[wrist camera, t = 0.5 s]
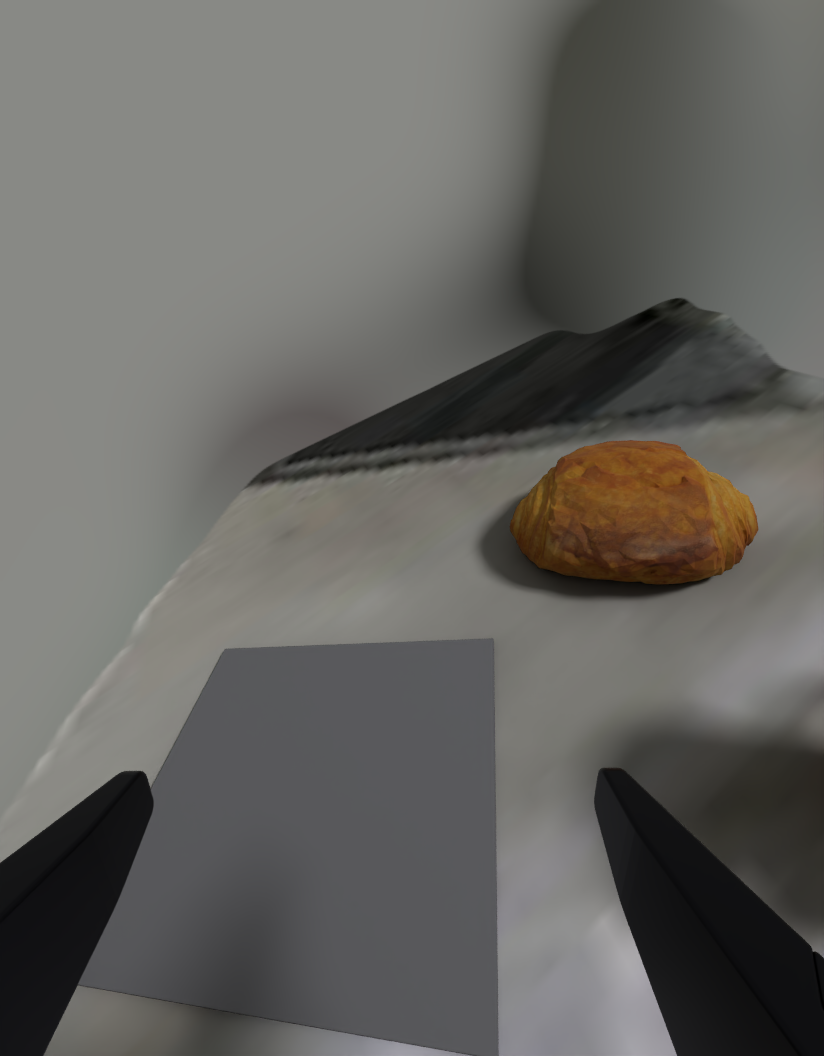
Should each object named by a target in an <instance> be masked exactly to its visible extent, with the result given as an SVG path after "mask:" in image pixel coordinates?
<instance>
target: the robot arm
mask: <svg viewBox="0 0 824 1056" xmlns="http://www.w3.org/2000/svg"><path fill="white" fill-rule="evenodd" d="M594 804H595V810H596V815H597V818H598V822H599V826H600V829H601V833H602V837H603V840H604V844H605V848H606V852H607V855H608V859H609V863H610V866H611V870H612V874H613V877H614V881H615V885H616V888H617V892H618V895H619V899H620V902H621V905H622V908H623V911H624V914H625V916H626V919H627V922H628V925H629V927H630V930H631V933H632V935H633V938H634V941H635V943H636V946H637V949H638V951H639V954H640V957H641V960H642V962H643V965H644V968H645V970H646V973H647V976H648V978H649V981H650V984H651V986H652V989H653V992H654V995H655V997H656V1000H657V1003H658V1005H659V1008H660V1011H661V1013H662V1016H663V1019H664V1021H665V1024H666V1027H667V1030H668V1032H669V1035H670V1038H671V1040H672V1043H673V1046H674V1048H675V1051H676V1054H677V1056H824V958H823V957H822V956H821V955H820V954H819V953H817V952H813V950H812V948H811V946H810V945H809V944H808V943H807V942H806V941H805V940H804V939H803V938H802V937H801V936H799V935H798V934H797V933H796V932H795V931H794V930H793V929H792V928H791V927H790V926H789V925H788V924H787V923H786V922H785V921H784V920H783V919H781V918H780V917H779V916H778V915H777V914H776V913H775V912H774V911H773V910H772V909H771V908H770V907H769V906H768V905H767V904H766V903H764V902H763V901H762V900H761V899H760V898H759V897H758V896H757V895H756V894H755V893H754V892H753V891H752V890H751V889H750V888H749V887H748V886H746V885H745V884H744V883H743V882H742V881H741V880H740V879H739V878H738V877H737V876H736V875H735V874H734V873H733V872H732V871H731V870H729V869H728V868H727V867H726V866H725V865H724V864H723V863H722V862H721V861H720V860H719V859H718V858H717V857H716V856H715V855H714V854H713V853H711V852H710V851H709V850H708V849H707V848H706V847H705V846H704V845H703V844H702V843H701V842H700V841H699V840H698V839H697V838H696V837H695V836H693V835H692V834H691V833H690V832H689V831H688V830H687V829H686V828H685V827H684V826H683V825H682V824H681V823H680V822H679V821H678V820H676V819H675V818H674V817H673V816H672V815H671V814H670V813H669V812H668V811H667V810H666V809H665V808H664V807H663V806H662V805H661V804H660V803H658V802H657V801H656V800H655V799H654V798H653V797H652V796H651V795H650V794H649V793H648V792H647V791H646V790H645V789H644V788H643V787H641V786H640V785H639V784H638V783H637V782H636V781H635V780H634V779H633V778H632V777H631V776H630V775H629V774H628V773H627V772H626V771H624V770H623V769H621V768H601V769H600V770H599V773H598V778H597V784H596V791H595V797H594ZM153 808H154V799H153V796H152V792H151V789H150V786H149V782H148V779H147V776H146V774H145V773H144V772H143V771H124V772H121V773H119V774H118V775H116V776H115V777H113V778H112V779H111V780H110V781H108V782H107V783H106V784H104V785H103V786H102V787H100V788H99V789H98V790H96V791H95V792H94V793H92V794H91V795H90V796H88V797H87V798H86V799H84V800H83V801H82V802H80V803H79V804H78V805H76V806H75V807H74V808H72V809H71V810H70V811H68V812H67V813H66V814H64V815H63V816H62V817H60V818H59V819H58V820H56V821H55V822H54V823H53V824H51V825H50V826H49V827H47V828H46V829H45V830H43V831H42V832H41V833H39V834H38V835H37V836H35V837H34V838H33V839H31V840H30V841H29V842H27V843H26V844H25V845H23V846H22V847H21V848H19V849H18V850H17V851H15V852H14V853H13V854H11V855H10V856H9V857H7V858H6V859H5V860H3V861H2V862H1V863H0V1056H43V1055H44V1053H45V1051H46V1049H47V1047H48V1045H49V1043H50V1041H51V1038H52V1036H53V1034H54V1032H55V1030H56V1028H57V1026H58V1024H59V1022H60V1020H61V1018H62V1016H63V1014H64V1012H65V1010H66V1008H67V1006H68V1004H69V1001H70V999H71V997H72V995H73V993H74V991H75V989H76V987H77V985H78V983H79V981H80V979H81V977H82V975H83V973H84V971H85V969H86V967H87V964H88V962H89V960H90V958H91V956H92V954H93V952H94V950H95V948H96V946H97V944H98V942H99V940H100V938H101V936H102V934H103V932H104V930H105V927H106V925H107V923H108V921H109V919H110V917H111V915H112V913H113V911H114V909H115V906H116V904H117V902H118V900H119V897H120V895H121V893H122V890H123V888H124V885H125V883H126V880H127V877H128V875H129V872H130V870H131V867H132V865H133V862H134V859H135V857H136V854H137V852H138V849H139V846H140V844H141V841H142V839H143V836H144V833H145V831H146V828H147V826H148V823H149V821H150V818H151V815H152V812H153Z"/></svg>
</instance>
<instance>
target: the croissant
mask: <svg viewBox="0 0 824 1056" xmlns="http://www.w3.org/2000/svg"><path fill="white" fill-rule="evenodd" d="M510 531H511V533H512V534H513V536H514V537H515V539H516V540H517V544H518V545H519V547H520V549H521V551H522V553H523V554H525V555H526V556H527V557H528V558H529V560H530V561H532V562H534V563H535V564H536V565H537V566H538V567H539V568H541V569H547V570H551V571H554V572H557V573H560V574H563V575H567V576H578V577H583V578H590V579H605V580H614V581H625V582H643V583H645V584H677V583H684V582H688V581H699V580H702V579H704V578H709V577H711V576H716V575H721V574H722V573H723V572H724V571H726V570H729V569H731V568H732V567H733V565H734V564H737V563H739V562H740V560H741V559H742V557H743V554H744V549H745V547H746V545H749V544H750V543H751V542H752V541H753V538H754V536H755V535H756V533H757V531H758V524H757V517H756V514H755V511H754V507H753V505H752V503H751V502H750V500H749V497H748V496H747V495H745V494H743V493H740V492H739V491H738V490H737V489H736V488H735V487H733V485H732V484H731V482H730V481H729V480H727V479H725V478H723V477H722V476H720V475H718V474H717V473H713V472H708V471H707V470H706V469H705V468H704V467H703V466H702V465H701V464H700V463H699V462H698V461H697V460H695V459H693V458H691V457H688V456H687V455H686V453H685V452H684V451H683V450H681V447H679V446H678V445H674V444H668V443H663V442H659V441H632V440H629V441H610V442H604V443H600V444H596V445H592V446H585V447H582V448H579V449H577V450H576V451H574V452H573V453H571V454H569V455H566V456H564V457H562V458H560V459H559V460H558V462H557V465H556V467H553V468H551V469H550V470H549V471H548V474H546V475H544V476H543V477H542V479H541V480H540V481H539V482H538V483H537V484H536V485H535V486H534V487H533V488H532V489H531V492H530V493H529V494H528V496H527V497H526V498H524V499H522V500H521V502H520V503H519V505H518V506H517V508H516V510H515V513H514V515H513V519H512V520H511V523H510Z"/></svg>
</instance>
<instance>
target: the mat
mask: <svg viewBox="0 0 824 1056" xmlns="http://www.w3.org/2000/svg"><path fill="white" fill-rule="evenodd" d="M151 792H152V796H153V799H154V808H153V812H152V815H151V818H150V821H149V823H148V826H147V828H146V831H145V833H144V836H143V839H142V841H141V844H140V846H139V849H138V852H137V854H136V857H135V859H134V862H133V865H132V867H131V870H130V872H129V875H128V877H127V880H126V883H125V885H124V888H123V890H122V893H121V895H120V897H119V900H118V902H117V904H116V906H115V909H114V911H113V913H112V915H111V917H110V919H109V921H108V923H107V925H106V927H105V930H104V932H103V934H102V936H101V938H100V940H99V942H98V944H97V946H96V948H95V950H94V952H93V954H92V956H91V958H90V960H89V962H88V964H87V967H86V969H85V971H84V973H83V975H82V977H81V979H80V981H79V983H78V985H80V986H86V987H91V988H97V989H103V990H108V991H114V992H119V993H125V994H131V995H136V996H142V997H148V998H153V999H159V1000H164V1001H170V1002H176V1003H181V1004H187V1005H192V1006H198V1007H204V1008H209V1009H215V1010H221V1011H226V1012H232V1013H237V1014H243V1015H249V1016H254V1017H260V1018H265V1019H271V1020H277V1021H282V1022H288V1023H293V1024H299V1025H305V1026H310V1027H316V1028H322V1029H327V1030H333V1031H338V1032H344V1033H350V1034H355V1035H361V1036H366V1037H372V1038H378V1039H383V1040H389V1041H395V1042H400V1043H406V1044H411V1045H417V1046H423V1047H428V1048H434V1049H439V1050H445V1051H451V1052H456V1053H462V1054H467V1055H473V1056H498V969H497V882H496V794H495V707H494V641H493V639H468V640H442V641H416V642H390V643H364V644H338V645H312V646H287V647H261V648H235V649H225V650H224V652H223V654H222V655H221V657H220V659H219V661H218V663H217V665H216V667H215V669H214V671H213V672H212V674H211V676H210V678H209V680H208V682H207V684H206V686H205V688H204V690H203V691H202V693H201V695H200V697H199V699H198V701H197V703H196V705H195V707H194V708H193V710H192V712H191V714H190V716H189V718H188V720H187V722H186V724H185V725H184V727H183V729H182V731H181V733H180V735H179V737H178V739H177V741H176V742H175V744H174V746H173V748H172V750H171V752H170V754H169V756H168V758H167V760H166V761H165V763H164V765H163V767H162V769H161V771H160V773H159V775H158V777H157V778H156V780H155V782H154V784H153V786H152V788H151Z"/></svg>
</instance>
